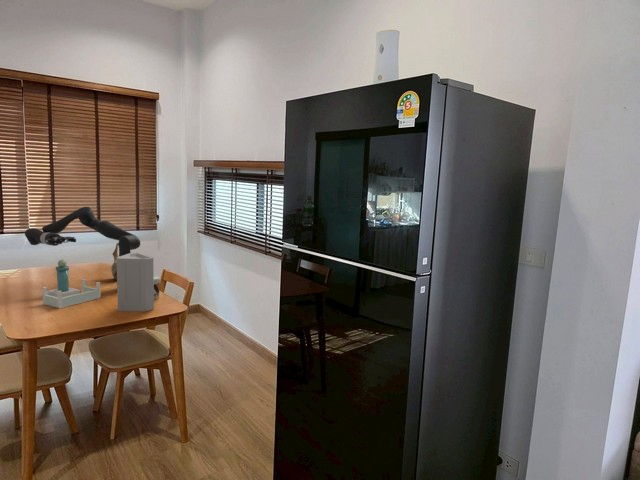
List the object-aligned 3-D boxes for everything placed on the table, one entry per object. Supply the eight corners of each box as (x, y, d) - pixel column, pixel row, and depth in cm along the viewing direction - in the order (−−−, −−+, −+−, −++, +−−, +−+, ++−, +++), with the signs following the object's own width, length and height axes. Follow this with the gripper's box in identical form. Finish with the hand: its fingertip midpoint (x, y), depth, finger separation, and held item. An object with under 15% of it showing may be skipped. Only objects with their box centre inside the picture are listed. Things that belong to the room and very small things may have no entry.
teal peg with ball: (71, 289, 244) (70, 258, 241) (66, 292, 237) (64, 261, 235) (60, 288, 243) (59, 258, 240) (54, 291, 237) (52, 260, 234)
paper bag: (111, 306, 223) (109, 255, 219) (138, 301, 234) (137, 252, 230) (126, 315, 210) (125, 261, 206) (154, 309, 221) (154, 258, 217)
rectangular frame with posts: (43, 303, 221) (42, 287, 220) (84, 294, 242) (84, 279, 241) (59, 308, 215) (58, 291, 214) (100, 297, 236) (100, 282, 235)
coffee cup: (154, 300, 236) (154, 280, 234) (139, 299, 237) (139, 278, 236) (163, 296, 245) (163, 276, 243) (149, 294, 247) (149, 275, 245)
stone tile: (46, 294, 238) (46, 291, 237) (67, 290, 248) (66, 286, 248) (59, 298, 232) (59, 294, 232) (80, 293, 243) (80, 289, 243)
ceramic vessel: (130, 281, 275) (130, 244, 272) (116, 283, 269) (115, 245, 265) (121, 276, 287) (121, 240, 283) (107, 278, 280) (106, 241, 277)
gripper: (38, 233, 241) (56, 236, 235) (61, 231, 254) (79, 233, 248) (38, 246, 242) (56, 249, 236) (62, 243, 255) (80, 246, 249)
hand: (68, 241), depth 242 cm, fingers open, 8 cm apart
